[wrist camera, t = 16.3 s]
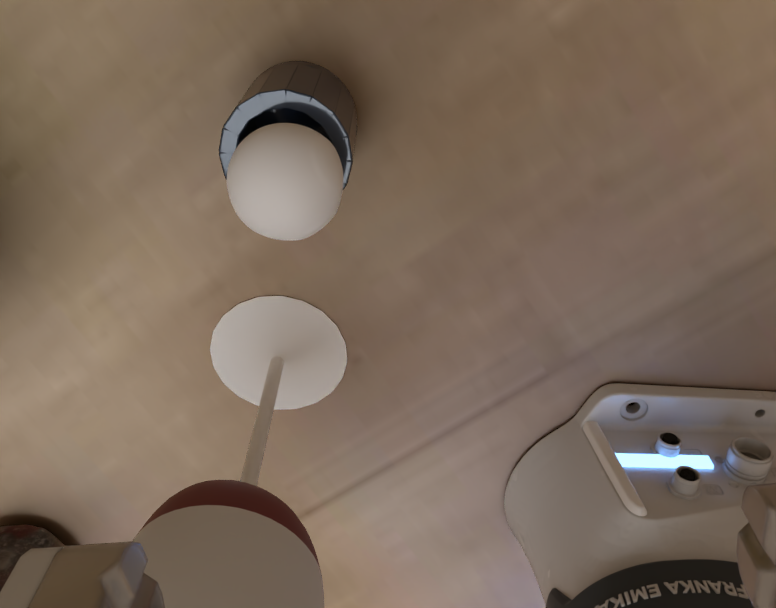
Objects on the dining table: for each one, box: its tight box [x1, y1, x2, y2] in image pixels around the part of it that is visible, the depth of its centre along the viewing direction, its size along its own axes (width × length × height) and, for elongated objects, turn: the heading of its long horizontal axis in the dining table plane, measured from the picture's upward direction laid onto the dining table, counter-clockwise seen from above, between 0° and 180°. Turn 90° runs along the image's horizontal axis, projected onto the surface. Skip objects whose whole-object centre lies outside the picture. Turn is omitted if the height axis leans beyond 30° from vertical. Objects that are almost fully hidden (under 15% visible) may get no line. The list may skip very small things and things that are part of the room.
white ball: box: [227, 123, 343, 241], centre depth 31 cm, size 5×5×5 cm
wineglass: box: [132, 296, 347, 608], centre depth 35 cm, size 9×10×22 cm
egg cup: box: [219, 61, 357, 191], centre depth 35 cm, size 6×6×6 cm
